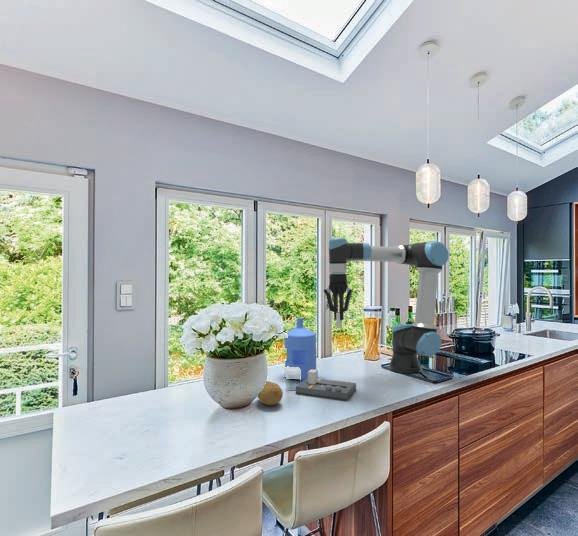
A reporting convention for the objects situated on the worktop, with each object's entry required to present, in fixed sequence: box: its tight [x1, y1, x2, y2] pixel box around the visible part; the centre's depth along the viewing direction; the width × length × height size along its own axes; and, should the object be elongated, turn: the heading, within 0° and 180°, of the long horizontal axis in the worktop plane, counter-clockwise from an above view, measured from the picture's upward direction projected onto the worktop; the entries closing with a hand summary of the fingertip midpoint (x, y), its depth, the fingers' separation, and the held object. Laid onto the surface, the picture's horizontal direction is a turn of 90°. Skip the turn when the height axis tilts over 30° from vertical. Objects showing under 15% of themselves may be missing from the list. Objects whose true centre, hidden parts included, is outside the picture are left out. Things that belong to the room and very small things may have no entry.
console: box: [295, 378, 357, 402], centre depth 153 cm, size 22×14×4 cm, turn 65°
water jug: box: [283, 317, 318, 381], centre depth 176 cm, size 16×16×28 cm
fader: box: [308, 369, 319, 384], centre depth 155 cm, size 3×4×7 cm
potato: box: [256, 380, 284, 406], centre depth 140 cm, size 10×14×8 cm
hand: (339, 327), depth 157 cm, fingers closed
